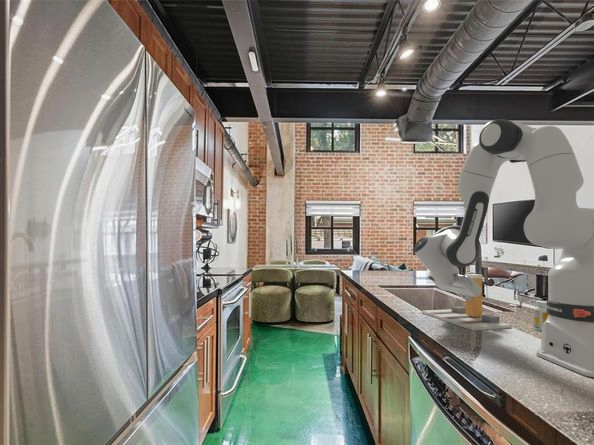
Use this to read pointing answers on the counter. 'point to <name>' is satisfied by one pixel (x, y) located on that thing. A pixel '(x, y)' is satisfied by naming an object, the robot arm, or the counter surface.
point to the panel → (467, 319)
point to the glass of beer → (475, 299)
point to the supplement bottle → (540, 315)
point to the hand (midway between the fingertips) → (468, 298)
